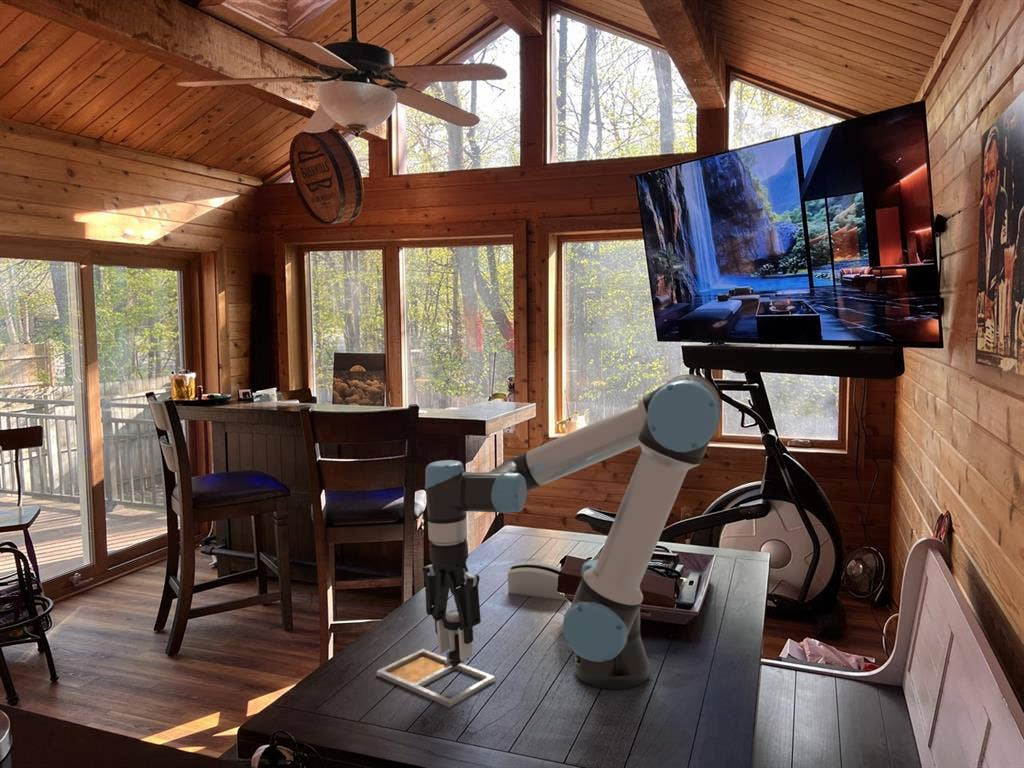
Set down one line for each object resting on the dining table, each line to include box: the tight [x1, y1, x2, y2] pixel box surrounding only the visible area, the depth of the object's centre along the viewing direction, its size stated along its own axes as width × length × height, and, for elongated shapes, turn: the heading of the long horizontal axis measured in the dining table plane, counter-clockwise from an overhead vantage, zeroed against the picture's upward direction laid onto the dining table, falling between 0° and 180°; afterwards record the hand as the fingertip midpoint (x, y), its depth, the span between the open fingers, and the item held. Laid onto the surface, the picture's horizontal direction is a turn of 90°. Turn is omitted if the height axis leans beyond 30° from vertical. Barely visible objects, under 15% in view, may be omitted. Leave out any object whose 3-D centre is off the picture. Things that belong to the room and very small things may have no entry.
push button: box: [442, 609, 470, 668], centre depth 152 cm, size 7×5×10 cm
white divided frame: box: [376, 648, 496, 708], centre depth 156 cm, size 21×13×1 cm, turn 50°
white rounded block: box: [507, 561, 569, 601], centre depth 200 cm, size 17×5×10 cm, turn 68°
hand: (455, 654), depth 152 cm, fingers closed on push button, 5 cm apart
